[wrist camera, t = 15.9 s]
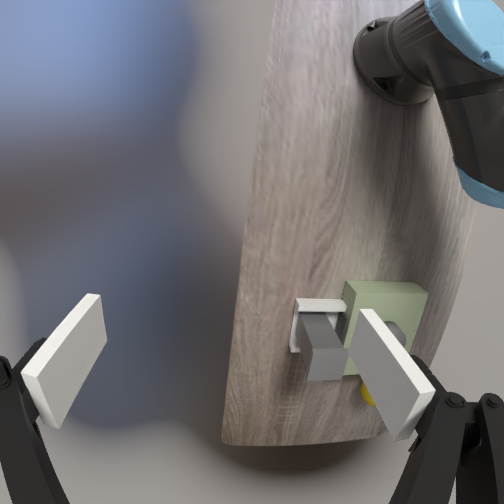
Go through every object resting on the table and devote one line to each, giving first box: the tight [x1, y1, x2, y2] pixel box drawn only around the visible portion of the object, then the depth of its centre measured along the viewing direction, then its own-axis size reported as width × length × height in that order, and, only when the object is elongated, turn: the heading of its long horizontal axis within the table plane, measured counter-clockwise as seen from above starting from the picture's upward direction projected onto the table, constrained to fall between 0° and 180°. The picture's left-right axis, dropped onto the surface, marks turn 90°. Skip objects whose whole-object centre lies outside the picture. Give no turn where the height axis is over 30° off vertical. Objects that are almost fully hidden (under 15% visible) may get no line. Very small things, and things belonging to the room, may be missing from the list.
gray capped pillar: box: [295, 312, 349, 381], centre depth 45 cm, size 5×5×12 cm
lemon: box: [360, 382, 376, 406], centre depth 53 cm, size 6×6×8 cm
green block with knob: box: [289, 280, 429, 375], centre depth 48 cm, size 22×16×8 cm
